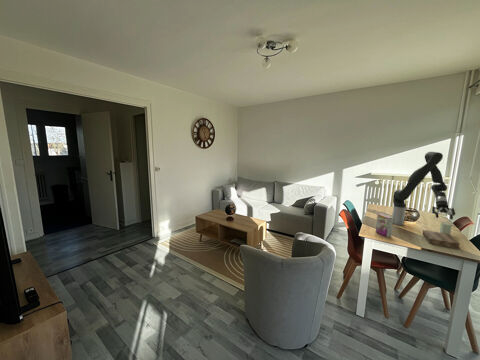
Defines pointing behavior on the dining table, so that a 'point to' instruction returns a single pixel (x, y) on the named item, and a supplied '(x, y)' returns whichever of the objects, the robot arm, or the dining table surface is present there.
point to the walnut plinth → (440, 239)
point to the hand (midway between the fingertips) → (444, 218)
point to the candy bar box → (384, 225)
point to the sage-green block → (445, 228)
